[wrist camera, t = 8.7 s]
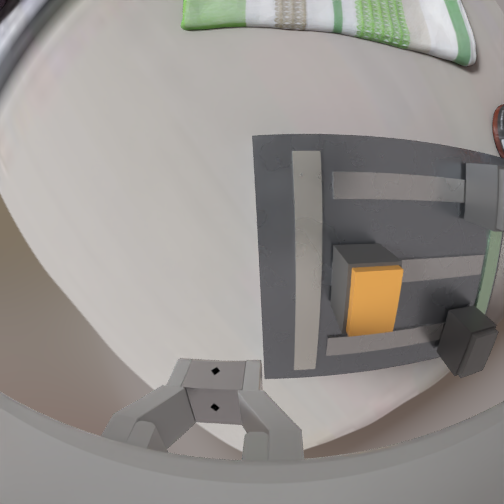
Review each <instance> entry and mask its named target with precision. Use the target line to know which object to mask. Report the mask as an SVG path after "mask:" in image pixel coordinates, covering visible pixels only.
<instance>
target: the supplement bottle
mask: <svg viewBox="0 0 504 504" xmlns="http://www.w3.org/2000/svg"><path fill="white" fill-rule="evenodd" d="M493 135H494V140H495V144H496V147H497V149H498V151H499V154H500V156H501V157H502V158H504V104H503V105H500V106H499V107H497V109H496V110H495V112H494V116H493Z"/></svg>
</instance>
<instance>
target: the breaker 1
mask: <svg viewBox="0 0 504 504" xmlns="http://www.w3.org/2000/svg"><path fill="white" fill-rule="evenodd" d="M464 220H465V221H468V222H471V223H473V224H476V225H479V226H481V227H484V228H486V229H489V230H491V231H494V232H504V167H502V166H498V165H488V164H475V163H466V197H465V214H464Z"/></svg>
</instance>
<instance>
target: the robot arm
mask: <svg viewBox="0 0 504 504" xmlns="http://www.w3.org/2000/svg"><path fill="white" fill-rule="evenodd" d="M195 422H203V423H221V424H236V425H242V426H243V428H244V429H245V431H246V432H247V434H245V438H244V446H243V454H242V460H225V459H211V458H202V457H194V456H186V455H179V454H173V453H168V451H167V449H168V448H169V447H170V446H171V445H172V444H173V443H174V442H175V441H177V439H179V438H180V437H181V436H182V435H183V434H184V433H186V431H188V430H189V429H190V428H191V427H192V426H193V425H194V424H195ZM0 504H504V401H503V402H501V403H499V404H497V405H495V406H494V407H492V408H490V409H488V410H486V411H484V412H482V413H479V414H477V415H475V416H473V417H471V418H469V419H466V420H464V421H462V422H459V423H457V424H454V425H452V426H449V427H447V428H444V429H441V430H439V431H436V432H433V433H430V434H427V435H424V436H421V437H418V438H414V439H411V440H408V441H405V442H401V443H397V444H393V445H389V446H385V447H380V448H376V449H371V450H366V451H361V452H356V453H350V454H343V455H337V456H330V457H321V458H310V459H304V452H303V440H302V430H301V429H300V428H299V427H298V426H297V425H296V424H295V423H294V422H293V421H292V420H291V419H290V418H289V417H288V416H287V415H286V413H285V412H284V411H283V410H282V409H281V408H280V407H279V406H278V405H277V404H276V403H275V402H274V401H273V400H272V399H271V398H270V397H269V396H268V395H267V393H266V392H265V391H263V388H262V364H261V360H247V361H219V360H202V359H186V358H180V359H178V361H177V363H176V365H175V367H174V369H173V372H172V374H171V376H170V378H169V380H168V383H167V385H166V386H164V385H162V386H161V387H159V388H157V389H156V390H154V391H152V392H151V393H149V394H147V395H145V396H144V397H142V398H141V399H139V400H137V401H135V402H133V403H132V404H130V405H128V406H127V407H125V408H123V409H121V410H119V411H117V412H116V413H114V414H113V416H112V418H111V419H110V421H109V423H108V425H107V426H106V428H105V430H104V432H103V433H102V435H101V436H98V435H95V434H92V433H89V432H86V431H83V430H81V429H77V428H75V427H72V426H70V425H67V424H64V423H62V422H60V421H57V420H55V419H53V418H50V417H48V416H46V415H44V414H42V413H40V412H37V411H35V410H33V409H31V408H29V407H27V406H25V405H23V404H21V403H20V402H18V401H16V400H14V399H12V398H10V397H9V396H7V395H5V394H3V393H2V392H0Z"/></svg>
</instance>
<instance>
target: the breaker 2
mask: <svg viewBox="0 0 504 504" xmlns="http://www.w3.org/2000/svg"><path fill="white" fill-rule="evenodd" d="M495 328H496V324H495V323H494V322H493V321H491V320H490V319H489V318H488V317H487V316H486V315H485V314H483V313H482V312H481V311H480V310H479V309H478V308H476V307H475V306H474V305H473V306H468V307H463V308H458V309H452V310H449V311H448V315H447V319H446V323H445V326H444V329H443V333H442V336H441V339H440V342H439V346H438V349H437V353H438V354H439V356H440V357H441V358H442V360H443V361H444V362H445V364H446V365H447V366H448V368H449V369H450V371H451V372H452V373H453V375H454V376H456V375H459V377H460V378H462V377H465V376H468V375H471V374H473V373H476V372H479V371H482V370H483V368H484V366H485V364H486V361H487V359H488V357H489V355H490V352H491V350H492V348H493V345H494V343H495V340H496V337H497V334H498V331H497V330H496V329H495Z"/></svg>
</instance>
